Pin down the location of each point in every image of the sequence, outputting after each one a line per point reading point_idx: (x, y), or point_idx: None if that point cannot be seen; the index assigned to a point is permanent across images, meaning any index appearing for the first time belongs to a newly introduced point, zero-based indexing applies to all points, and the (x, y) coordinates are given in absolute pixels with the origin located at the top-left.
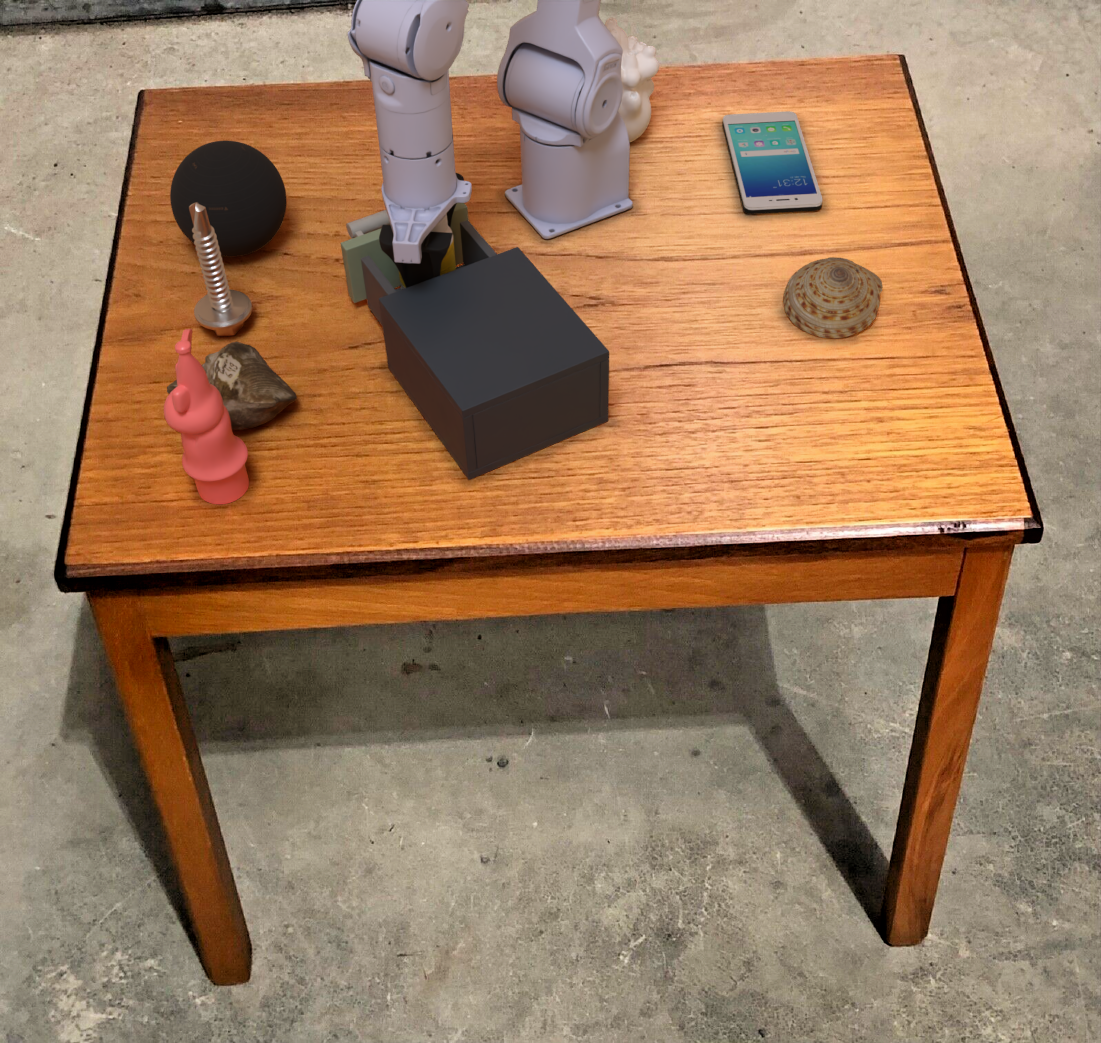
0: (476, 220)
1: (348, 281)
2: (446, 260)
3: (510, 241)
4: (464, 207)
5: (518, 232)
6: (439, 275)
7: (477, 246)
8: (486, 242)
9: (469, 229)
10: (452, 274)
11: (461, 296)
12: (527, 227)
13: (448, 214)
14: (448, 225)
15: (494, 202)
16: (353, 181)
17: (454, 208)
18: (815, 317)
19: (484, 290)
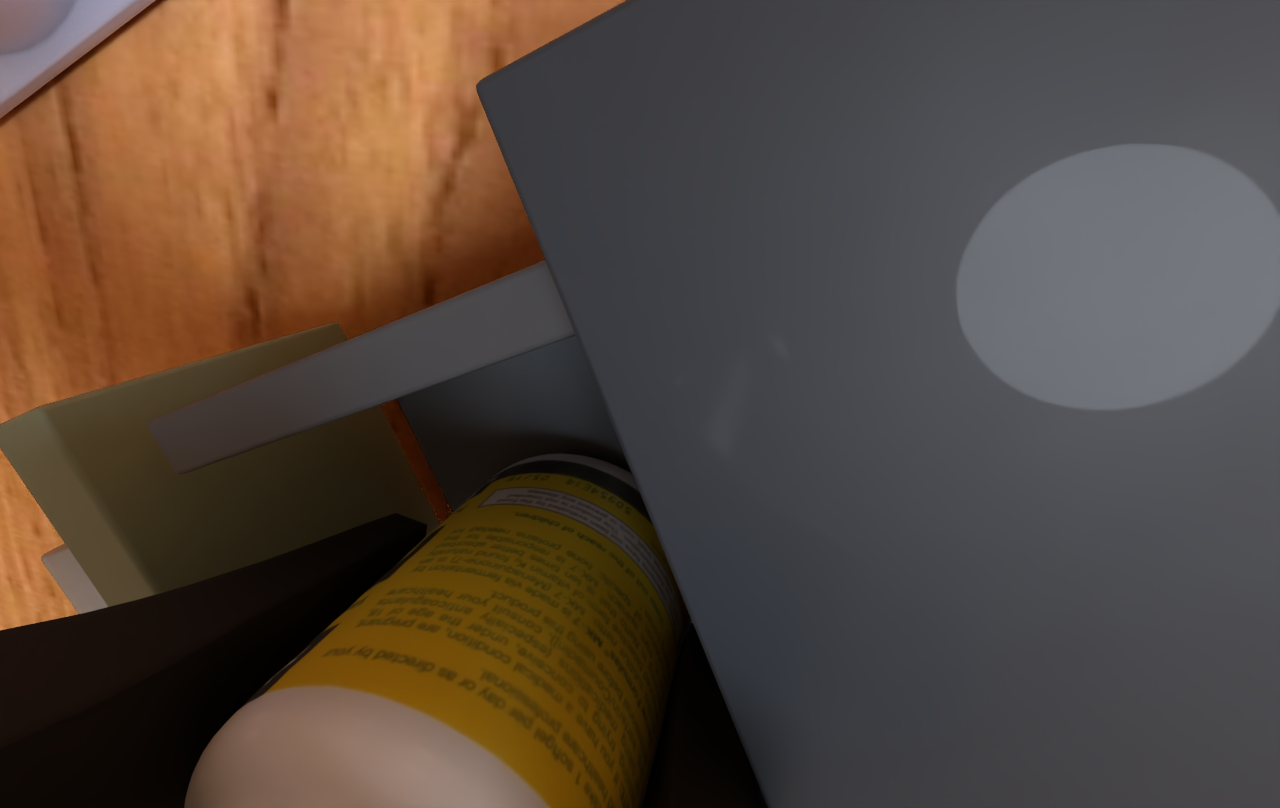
0: (126, 257)
1: None
2: (583, 708)
3: (216, 138)
4: (45, 427)
5: (164, 96)
6: (727, 772)
7: (378, 404)
8: (348, 345)
9: (229, 433)
10: (780, 736)
11: (1136, 765)
12: (132, 51)
13: (126, 715)
14: (232, 641)
15: (29, 176)
16: (38, 577)
17: (37, 729)
18: None
19: (1144, 564)
